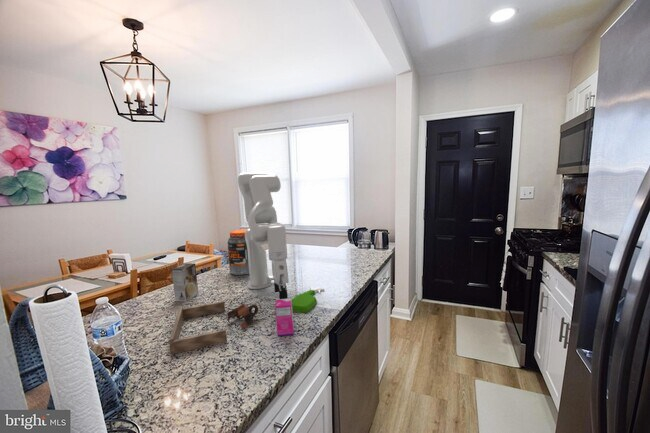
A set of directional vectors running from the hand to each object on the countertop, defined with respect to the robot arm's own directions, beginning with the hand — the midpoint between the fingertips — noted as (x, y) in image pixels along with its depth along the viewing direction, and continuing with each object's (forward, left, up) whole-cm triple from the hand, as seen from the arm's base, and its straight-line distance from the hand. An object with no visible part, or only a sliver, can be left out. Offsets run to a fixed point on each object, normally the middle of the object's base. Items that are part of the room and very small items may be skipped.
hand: (280, 295), depth 112 cm
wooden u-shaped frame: (+31, -1, -7) cm, 32 cm away
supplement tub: (+10, -66, -8) cm, 67 cm away
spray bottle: (-14, -7, -8) cm, 17 cm away
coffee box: (+39, -37, -8) cm, 54 cm away
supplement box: (+2, +15, -8) cm, 17 cm away
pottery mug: (+15, +1, -8) cm, 17 cm away
